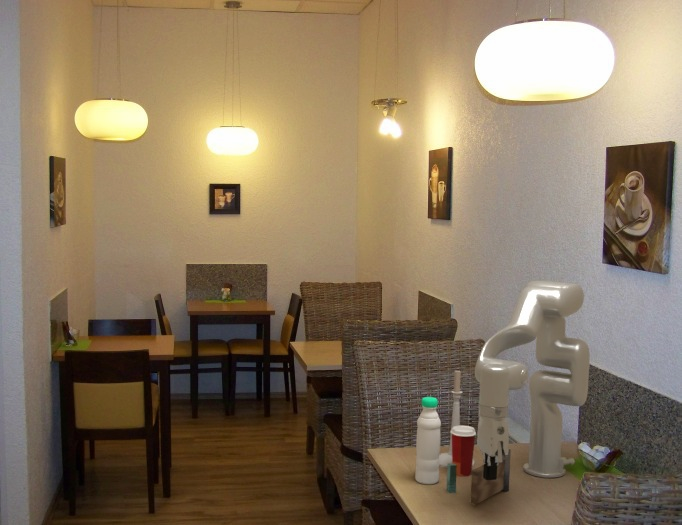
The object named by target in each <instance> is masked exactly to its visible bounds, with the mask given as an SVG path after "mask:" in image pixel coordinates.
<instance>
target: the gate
mask: <svg viewBox="0 0 682 525" xmlns="http://www.w3.org/2000/svg"><path fill="white" fill-rule="evenodd" d="M504 462H505V458H502V462H500V463H498V466H497V479H496V480H485V479H484V478H483V469H484V464H482V465H481V466H479V467H476V468H474V469H472V470H471V475H470V476H471V479H470V480H471V485H470V504H472V505H477V504H479V503H481V502H482V501H485V500H486V499H488V498H490V497H491V496H494V495H496V494H497V493H499V492H501V490H503V484H504Z"/></svg>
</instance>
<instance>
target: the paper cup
mask: <svg viewBox="0 0 682 525" xmlns="http://www.w3.org/2000/svg"><path fill="white" fill-rule="evenodd" d="M449 432H450V434H451V433H452V463H455V464H456V465H457V473H456V477H469V476H472V475H471V471H472V470H473V467H472V461H473V460H474V458H473V457H474V451H475V450H474V449H475V441H476V440H475V439H476V435H477V432H476V429H475V428H474V427H473V426H469V425H460V426H454V427H453V428H452V429H451V428H450V431H449Z"/></svg>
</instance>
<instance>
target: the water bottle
mask: <svg viewBox="0 0 682 525" xmlns="http://www.w3.org/2000/svg"><path fill="white" fill-rule="evenodd" d="M438 403H439V402H438V399H437V398H436V397H433V396H425V397H422V399H421V407H422V410H421V412H420V415H419V416H418V418H417V420H416V426H417V430H416V442H415V443H416V447H415V448H416V450H415V451H416V452H415V453H416V457H415V473H414V474H415V476H414V477H415V481H416V482H417V483H419V484H423V485H434V484H437V483H439V480H440V466H439V464H440V461H439V454H441V452H440V451H441V426H442V422H441V419H440V417H439V414H438V412H437V408H438Z"/></svg>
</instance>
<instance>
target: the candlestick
mask: <svg viewBox="0 0 682 525" xmlns="http://www.w3.org/2000/svg"><path fill="white" fill-rule="evenodd" d="M453 375H454V376H453V377H454V378H453V390H451V391H450V392H451V393H452V399H453V403H452V404H453V405H452V413H451V414H452V415H451V416H452V417H451V427H450V430H451V429H452V428H453V427H454V426H461V412H460V410H461V409H460V408H461V406H460V404H461V403H460V399H461V397H462V394H463V391H462V390H461V376H462V371H460V370H454V374H453ZM449 439H450V440H449V448H448V451H447V452H442V453H440V454H439V461H440V464H439V467H441V468H446V469H447V463H452V433H450V438H449ZM475 464H476V463H475V459H473V461H472V468H473V467H474V466H475Z"/></svg>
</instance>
